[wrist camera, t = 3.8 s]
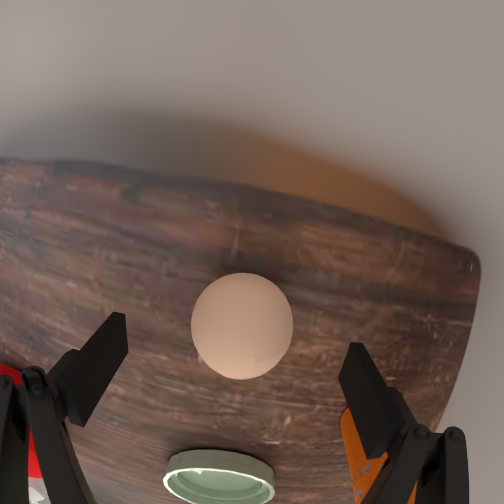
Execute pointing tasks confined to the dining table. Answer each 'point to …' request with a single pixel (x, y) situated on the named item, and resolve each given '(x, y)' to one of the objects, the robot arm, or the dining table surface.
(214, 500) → the dish
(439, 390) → the dining table surface
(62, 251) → the dining table surface
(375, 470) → the shaker bottle
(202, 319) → the egg
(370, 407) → the robot arm
